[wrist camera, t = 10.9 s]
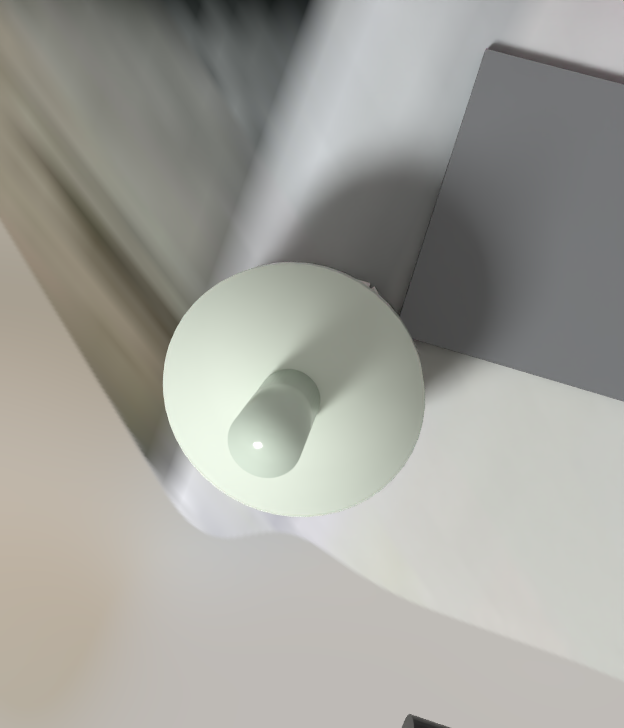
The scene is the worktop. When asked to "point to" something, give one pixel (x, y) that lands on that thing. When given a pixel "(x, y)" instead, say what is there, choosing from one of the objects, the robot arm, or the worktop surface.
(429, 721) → the robot arm
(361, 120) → the worktop surface
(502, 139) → the mat
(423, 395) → the lid
